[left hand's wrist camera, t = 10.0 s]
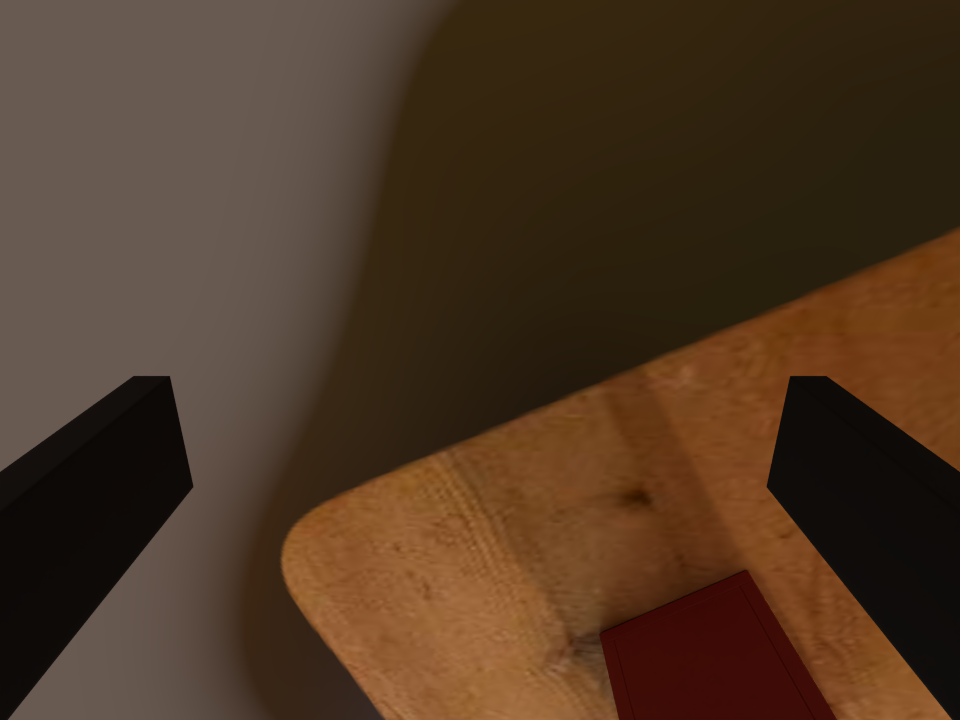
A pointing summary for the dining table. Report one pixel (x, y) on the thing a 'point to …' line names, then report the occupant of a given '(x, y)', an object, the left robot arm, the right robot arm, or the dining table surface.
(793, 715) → the chest
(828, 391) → the left robot arm
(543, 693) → the dining table surface
